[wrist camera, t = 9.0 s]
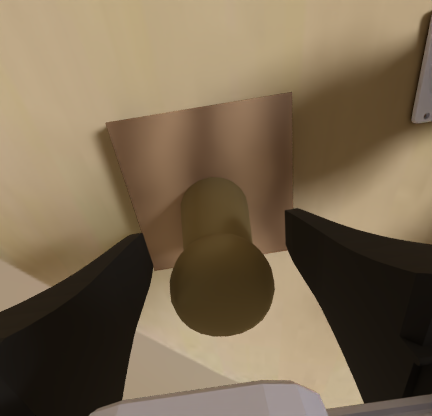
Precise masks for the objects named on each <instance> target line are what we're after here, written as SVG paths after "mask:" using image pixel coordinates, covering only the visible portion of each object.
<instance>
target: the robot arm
mask: <svg viewBox="0 0 432 416" xmlns="http://www.w3.org/2000/svg"><path fill="white" fill-rule="evenodd" d="M425 114H426V116H425V118H424V115H425ZM430 121H432V16H431V22H430V27H429V32H428V37H427V42H426V47H425V52H424V57H423V62H422V67H421V72H420V77H419V83H418V88H417V93H416V98H415V103H414V108H413V113H412V122H413V123H424V122H430ZM285 243H286V247H287V249H288V252H289V254H290V256H291V258H292V261H293V262H294V264H295V266H296V267H297V269H298V271H299V272H300V274H301V275H302V277H303V279H304V280H305V282H306V283H307V285H308V286H309V288H310V290H311V291H312V293H313V294H314V296H315V298H316V299H317V301H318V303H319V305H320V306H321V308H322V310H323V312H324V314H325V316H326V319H327V321H328V323H329V325H330V327H331V329H332V331H333V333H334V335H335V337H336V340H337V342H338V344H339V346H340V348H341V350H342V353H343V355H344V357H345V359H346V362H347V364H348V366H349V368H350V371H351V373H352V375H353V378H354V380H355V382H356V385H357V387H358V389H359V392H360V394H361V397H362V399H363V402H364V404H359V405H351V406H344V407H337V408H330V409H325V406H324V404H323V402H322V399H321V397H320V395H319V394H318V393H316V392H314V391H313V390H311V389H309V388H306V387H304V386H302V385H299V384H297V383H295V382H293V381H286V380H259V381H252V382H246V383H239V384H232V385H225V386H218V387H211V388H205V389H197V390H191V391H183V392H177V393H170V394H163V395H156V396H150V397H142V398H135V399H128V400H123V401H122V397H123V391H124V385H125V379H126V374H127V369H128V363H129V358H130V353H131V348H132V344H133V339H134V334H135V331H136V327H137V324H138V321H139V318H140V315H141V311H142V308H143V305H144V302H145V299H146V296H147V293H148V290H149V287H150V283H151V278H152V272H153V262H152V259H151V256H150V253H149V250H148V247H147V244H146V241H145V239H144V236H143V233H138V234H132V235H129V236H127V237H126V238H124V239H123V240H121V241H120V242H119V243H117V244H116V245H115V246H113V247H112V248H111V249H109V250H108V251H106V252H105V253H104V254H102V255H101V256H100V257H98V258H97V259H95V260H94V261H92V262H91V263H90V264H88V265H87V266H85V267H84V268H82V269H81V270H79V271H78V272H76V273H75V274H73V275H71V276H70V277H68V278H66V279H65V280H63V281H61V282H60V283H58V284H56V285H54V286H53V287H51V288H49V289H47V290H45V291H43V292H41V293H39V294H37V295H35V296H34V297H31V298H29V299H27V300H26V301H23V302H21V303H19V304H17V305H15V306H13V307H11V308H8V309H6V310H4V311H2V312H0V416H432V245H430V244H423V243H416V242H410V241H404V240H399V239H394V238H388V237H384V236H379V235H375V234H371V233H367V232H364V231H360V230H356V229H353V228H350V227H347V226H344V225H341V224H338V223H335V222H333V221H330V220H327V219H325V218H322V217H319V216H317V215H314V214H312V213H309V212H307V211H304V210H301V209H298V208H296V209H289V210H285Z"/></svg>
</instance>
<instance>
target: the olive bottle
mask: <svg viewBox="0 0 432 416" xmlns="http://www.w3.org/2000/svg"><path fill="white" fill-rule="evenodd" d="M181 223H182V237H183V252H182V253H181V254H180V256H179V257H178V259H177V260H176V263H175V265H174V268H173V271H172V274H171V278H170V295H171V302H172V304H173V306H174V308H175V310H176V313H177V314H178V316H179V317H180V319H181V320H182V321H183V322H184V323H185V324H186V325H187V326H188V327H189V328H191V329H193V330H195V331H197V332H199V333H201V334H205V335H210V336H231V335H236V334H240V333H243V332H245V331H247V330H249V329H251V328H253V327H254V326H256V325H257V324H258V323H259V322H260V321H262V320H263V319H264V317H265V315H266V314H267V312H268V311H269V309H270V306H271V304H272V300H273V295H274V290H275V289H274V279H273V274H272V269H271V267H270V265H269V263H268V261H267V259H266V258H265V256H264V255H263V253H262V252H261V251H260V250H259V249H258V248H257V247H256V246H255V245H254V244H253V241H252V233H251V226H250V218H249V210H248V204H247V200H246V196H245V194H244V193H243V191H242V190H241V188H240V187H239V186H237V185H236V184H235V183H234V182H232V181H230V180H227V179H224V178H220V177H209V178H206V179H202V180H199V181H198V182H196V183H195V184H193V185H191V186H190V187H189V189H188V190H187V191H186V192H185V194H184V196H183V199H182V202H181Z"/></svg>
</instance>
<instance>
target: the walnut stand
mask: <svg viewBox="0 0 432 416" xmlns="http://www.w3.org/2000/svg"><path fill="white" fill-rule="evenodd" d="M106 126H107V129H108V132H109V135H110V138H111V141H112V144H113V147H114V150H115V153H116V156H117V159H118V162H119V165H120V168H121V171H122V174H123V177H124V180H125V183H126V186H127V189H128V192H129V195H130V198H131V201H132V204H133V207H134V210H135V213H136V216H137V219H138V223H139V226H140V229H141V232H142V233H143V236H144V239H145V241H146V244H147V247H148V250H149V253H150V256H151V259H152V262H153V268H154V271H156V270H163V269H169V268H174V265H175V263H176V260H177V259H178V257H179V256H180V254H181V253H182V252H183V237H182V223H181V202H182V199H183V196H184V194H185V192H186V191H187V190H188V189H189V187H190V186H191V185H193V184H195V183H196V182H198V181H199V180H202V179H206V178H209V177H220V178H224V179H227V180H230V181H232V182H234V183H235V184H236V185H237V186H239V187H240V188H241V190H242V191H243V193H244V194H245V196H246V200H247V204H248V210H249V218H250V226H251V233H252V241H253V244H254V245H255V246H256V247H257V248H258V249H259V250H260V251H261V252H262V253H263V254H267V253H274V252H280V251H287V250H288V249H287V247H286V243H285V210H289V209H293V154H292V92H289V93H283V94H277V95H271V96H265V97H259V98H252V99H246V100H240V101H234V102H228V103H222V104H216V105H210V106H204V107H198V108H192V109H186V110H180V111H174V112H168V113H162V114H156V115H150V116H143V117H137V118H131V119H125V120H119V121H113V122H107V123H106Z"/></svg>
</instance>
